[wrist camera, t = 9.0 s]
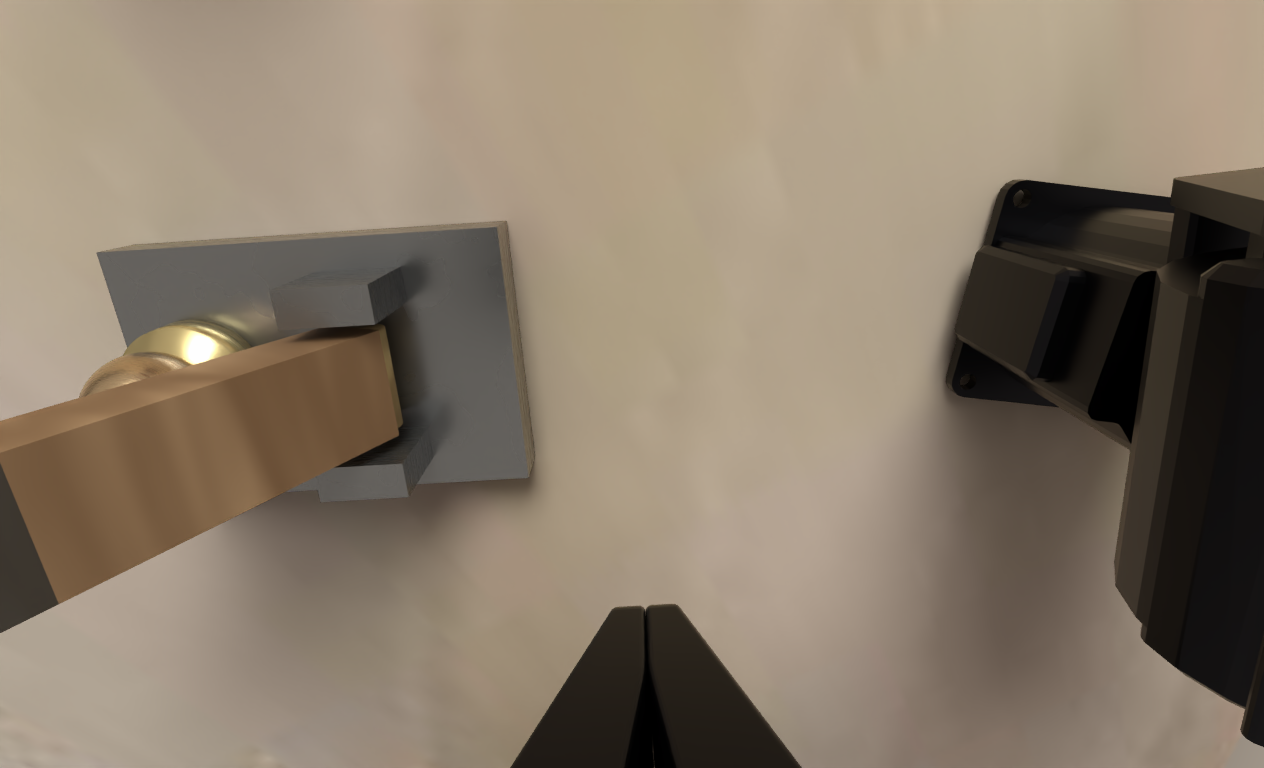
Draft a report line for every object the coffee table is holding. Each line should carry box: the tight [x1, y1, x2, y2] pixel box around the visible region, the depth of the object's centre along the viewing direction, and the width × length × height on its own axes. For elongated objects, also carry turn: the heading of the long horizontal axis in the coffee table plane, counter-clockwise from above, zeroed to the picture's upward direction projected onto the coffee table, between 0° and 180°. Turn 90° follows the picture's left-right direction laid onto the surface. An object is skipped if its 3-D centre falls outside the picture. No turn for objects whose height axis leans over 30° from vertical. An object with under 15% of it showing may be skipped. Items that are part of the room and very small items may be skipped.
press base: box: [79, 221, 535, 502], centre depth 19 cm, size 11×8×5 cm
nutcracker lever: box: [0, 324, 403, 633], centre depth 14 cm, size 2×3×14 cm, turn 3°
